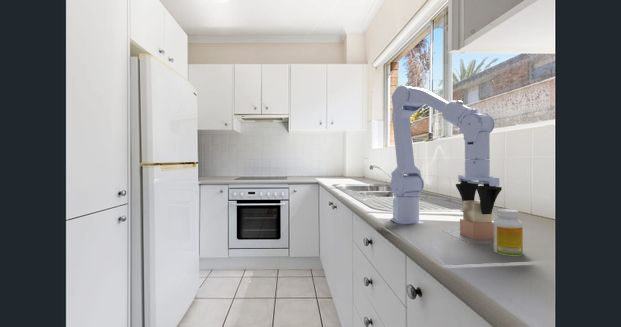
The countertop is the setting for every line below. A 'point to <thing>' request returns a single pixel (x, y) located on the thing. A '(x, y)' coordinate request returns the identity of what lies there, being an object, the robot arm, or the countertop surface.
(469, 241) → the baseplate
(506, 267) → the countertop surface
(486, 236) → the base block
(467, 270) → the countertop surface
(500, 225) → the supplement bottle
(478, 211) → the birch block
